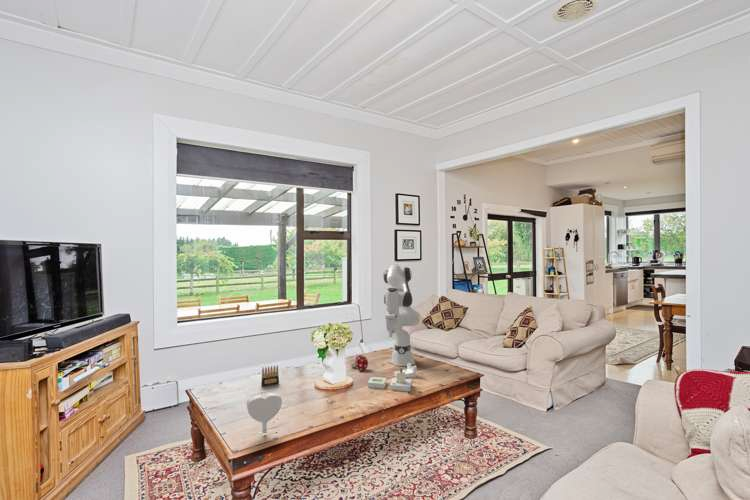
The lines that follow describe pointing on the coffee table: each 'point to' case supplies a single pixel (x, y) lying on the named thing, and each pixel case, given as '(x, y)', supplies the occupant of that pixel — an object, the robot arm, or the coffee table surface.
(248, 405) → the heart sculpture
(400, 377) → the plug
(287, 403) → the coffee table surface
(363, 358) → the dark red lumpy cluster
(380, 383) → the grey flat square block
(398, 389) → the port
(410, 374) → the bracket
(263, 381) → the ammunition clip
